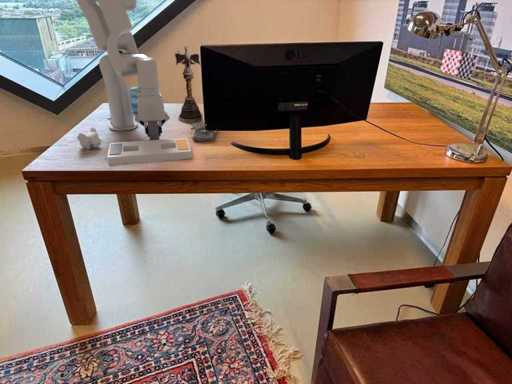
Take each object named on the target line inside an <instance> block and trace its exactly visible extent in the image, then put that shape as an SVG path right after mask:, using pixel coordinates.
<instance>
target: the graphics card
mask: <svg viewBox="0 0 512 384" xmlns="http://www.w3.org/2000/svg"><path fill="white" fill-rule="evenodd" d="M204 125H205V124H204V122H203V123H199V122H195V123H190V130H191V131H194V133H193V135H192V140H193V141H213V140H214V139H215V138H214V137H215V135H217V133H218V131H217V132H215V131H205V126H206V125H205V126H204Z"/></svg>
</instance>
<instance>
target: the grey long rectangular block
mask: <svg viewBox="0 0 512 384" xmlns="http://www.w3.org/2000/svg"><path fill="white" fill-rule="evenodd" d="M158 124H159V123H158V121H147V125H148V131H149V137H148V139H149V140H161V139H160V136H159V129H158Z"/></svg>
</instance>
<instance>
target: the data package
mask: <svg viewBox="0 0 512 384" xmlns="http://www.w3.org/2000/svg"><path fill="white" fill-rule="evenodd" d="M138 87H139V86H132V87H131V88H129V92H130V99H131V106H132V113H138V94H139V92H135V89H137V88H138Z"/></svg>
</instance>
